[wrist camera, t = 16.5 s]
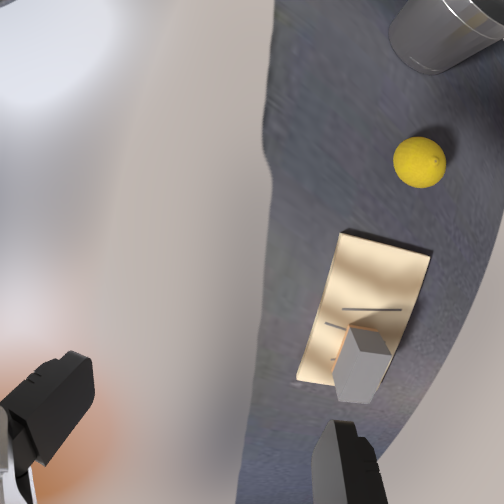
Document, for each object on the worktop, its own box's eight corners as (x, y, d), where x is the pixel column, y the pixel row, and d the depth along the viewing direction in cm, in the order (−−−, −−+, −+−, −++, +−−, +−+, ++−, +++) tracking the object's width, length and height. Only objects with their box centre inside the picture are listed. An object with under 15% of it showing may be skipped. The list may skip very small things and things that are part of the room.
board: (339, 232, 35) (342, 234, 34) (426, 254, 35) (430, 257, 33) (296, 374, 40) (296, 380, 39) (374, 385, 40) (376, 390, 38)
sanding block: (348, 324, 36) (359, 351, 30) (376, 329, 36) (392, 355, 30) (331, 370, 38) (338, 400, 32) (358, 373, 38) (369, 403, 32)
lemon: (398, 131, 32) (427, 121, 24) (431, 159, 32) (466, 157, 24) (375, 168, 33) (401, 166, 25) (410, 195, 33) (442, 201, 25)
